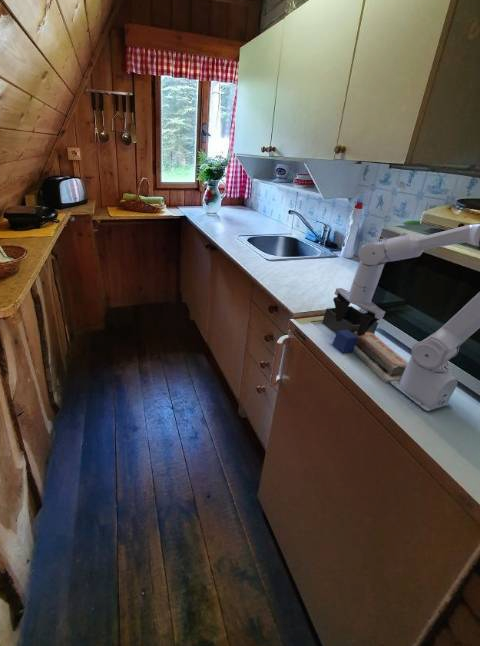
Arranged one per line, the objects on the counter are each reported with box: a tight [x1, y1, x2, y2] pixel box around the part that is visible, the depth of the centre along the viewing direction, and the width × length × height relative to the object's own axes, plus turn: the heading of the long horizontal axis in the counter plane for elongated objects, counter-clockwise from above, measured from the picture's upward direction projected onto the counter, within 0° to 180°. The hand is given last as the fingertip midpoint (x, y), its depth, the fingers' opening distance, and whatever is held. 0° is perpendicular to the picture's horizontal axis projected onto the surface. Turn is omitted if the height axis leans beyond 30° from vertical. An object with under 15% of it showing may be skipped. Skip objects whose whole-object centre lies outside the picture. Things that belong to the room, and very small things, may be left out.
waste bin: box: [322, 305, 379, 335], centre depth 100 cm, size 11×11×6 cm
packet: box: [332, 330, 358, 354], centre depth 90 cm, size 4×4×5 cm
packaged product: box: [352, 332, 408, 384], centre depth 86 cm, size 18×5×10 cm
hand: (349, 327), depth 88 cm, fingers open, 7 cm apart
